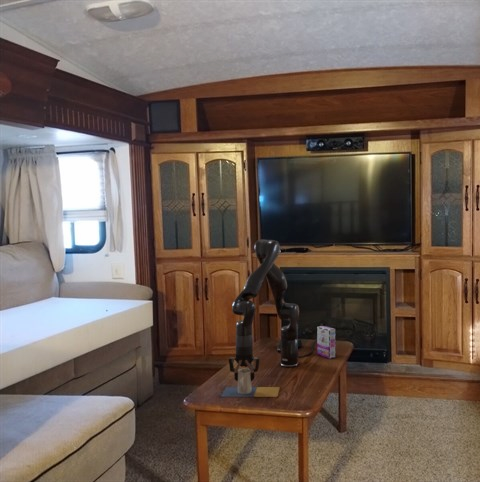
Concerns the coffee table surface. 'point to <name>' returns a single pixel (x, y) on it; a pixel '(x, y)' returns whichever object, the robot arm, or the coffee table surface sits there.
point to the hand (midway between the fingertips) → (244, 380)
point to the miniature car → (280, 344)
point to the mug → (244, 381)
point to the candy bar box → (326, 341)
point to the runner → (252, 392)
